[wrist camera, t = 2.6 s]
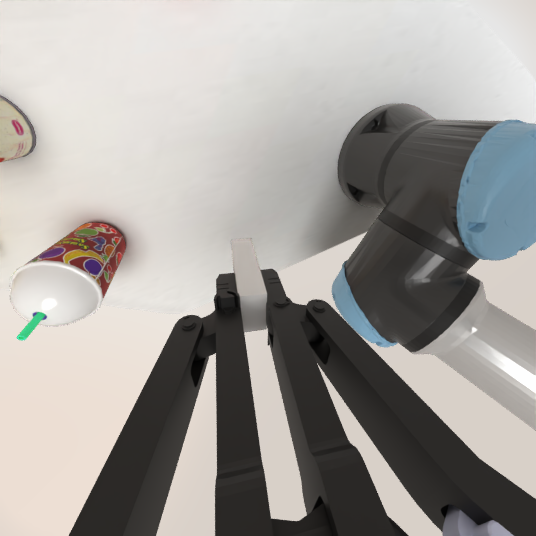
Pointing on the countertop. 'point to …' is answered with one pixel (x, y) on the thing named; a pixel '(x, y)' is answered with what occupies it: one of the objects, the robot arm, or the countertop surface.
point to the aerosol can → (14, 132)
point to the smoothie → (67, 277)
